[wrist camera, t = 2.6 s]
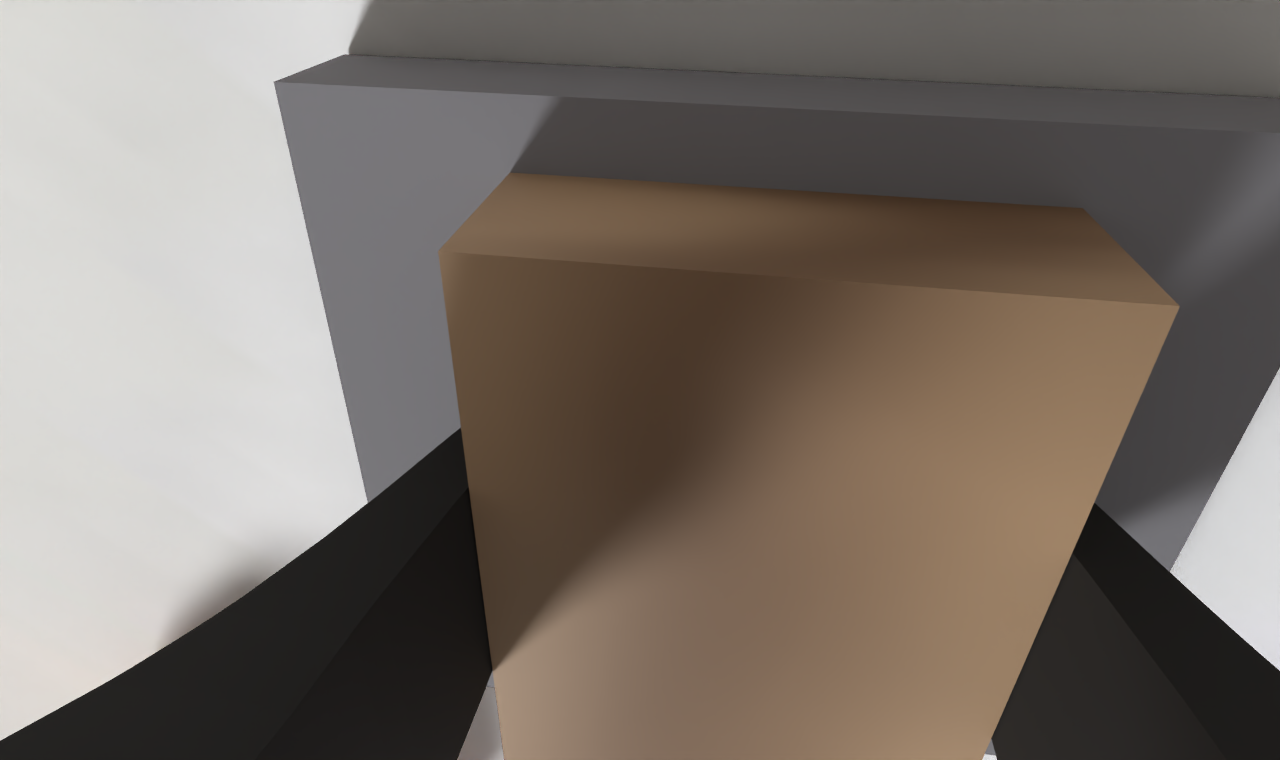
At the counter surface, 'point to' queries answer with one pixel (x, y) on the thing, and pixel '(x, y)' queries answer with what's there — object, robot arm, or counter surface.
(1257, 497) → the counter surface
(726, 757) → the tan flat block
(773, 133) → the mat
